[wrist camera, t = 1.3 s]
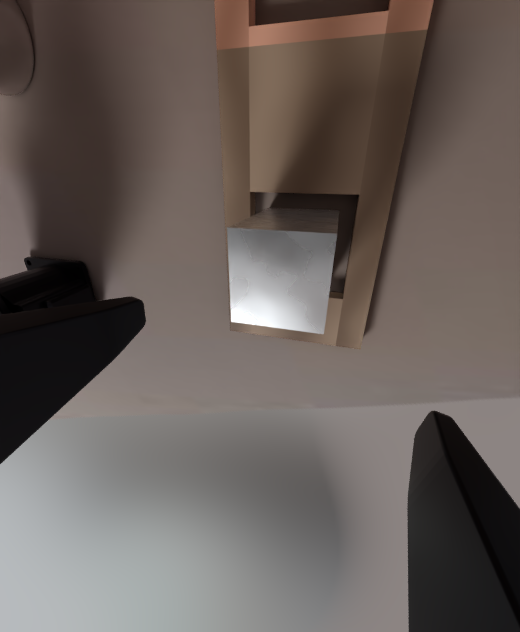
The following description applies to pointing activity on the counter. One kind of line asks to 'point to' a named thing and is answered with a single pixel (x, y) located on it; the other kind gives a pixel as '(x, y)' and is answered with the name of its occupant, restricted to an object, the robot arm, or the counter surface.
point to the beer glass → (14, 50)
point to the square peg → (282, 268)
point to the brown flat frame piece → (319, 128)
